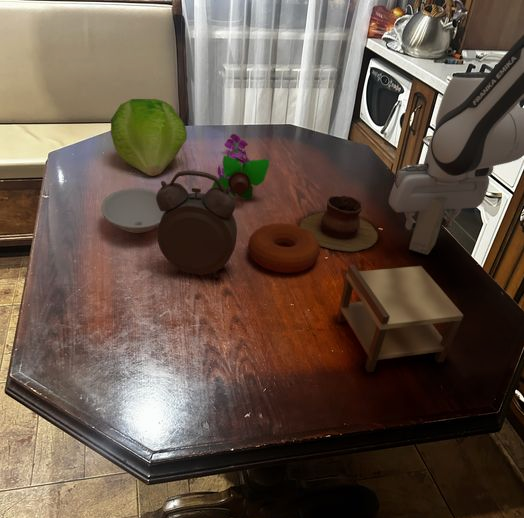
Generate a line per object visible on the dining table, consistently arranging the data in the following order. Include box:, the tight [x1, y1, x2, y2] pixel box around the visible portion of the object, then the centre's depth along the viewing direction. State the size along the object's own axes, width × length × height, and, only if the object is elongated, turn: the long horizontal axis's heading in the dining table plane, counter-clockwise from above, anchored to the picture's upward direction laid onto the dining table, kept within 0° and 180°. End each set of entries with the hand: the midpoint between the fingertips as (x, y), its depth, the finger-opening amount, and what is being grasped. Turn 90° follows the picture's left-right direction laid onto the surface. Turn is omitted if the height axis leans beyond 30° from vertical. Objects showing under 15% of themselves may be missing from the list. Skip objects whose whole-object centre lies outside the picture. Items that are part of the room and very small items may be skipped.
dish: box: [100, 187, 165, 234], centre depth 109 cm, size 18×14×5 cm
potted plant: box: [211, 133, 270, 200], centre depth 131 cm, size 12×16×35 cm
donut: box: [247, 223, 321, 274], centre depth 105 cm, size 15×15×5 cm
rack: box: [336, 264, 464, 373], centre depth 85 cm, size 14×14×12 cm
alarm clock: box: [156, 170, 238, 279], centre depth 94 cm, size 15×7×20 cm, turn 83°
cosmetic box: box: [408, 198, 447, 256], centre depth 108 cm, size 6×4×12 cm
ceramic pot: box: [299, 195, 379, 252], centre depth 114 cm, size 18×18×7 cm
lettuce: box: [110, 98, 188, 177], centre depth 131 cm, size 17×20×17 cm
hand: (427, 227), depth 109 cm, fingers closed on cosmetic box, 7 cm apart
